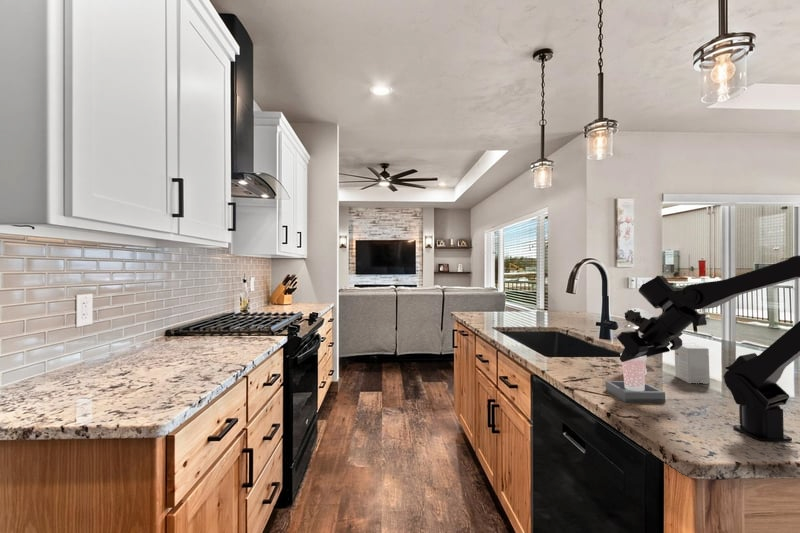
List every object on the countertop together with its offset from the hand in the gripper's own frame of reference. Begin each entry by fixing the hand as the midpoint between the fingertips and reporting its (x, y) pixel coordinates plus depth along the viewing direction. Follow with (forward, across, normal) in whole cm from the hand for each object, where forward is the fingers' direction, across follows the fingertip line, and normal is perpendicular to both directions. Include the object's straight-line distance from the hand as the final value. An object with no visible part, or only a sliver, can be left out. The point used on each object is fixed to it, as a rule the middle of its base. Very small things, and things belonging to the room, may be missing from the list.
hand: (628, 359), depth 104 cm
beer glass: (+16, -22, -2) cm, 27 cm away
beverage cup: (+5, 0, +6) cm, 8 cm away
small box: (+7, -29, +7) cm, 30 cm away
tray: (+6, 0, +8) cm, 10 cm away
